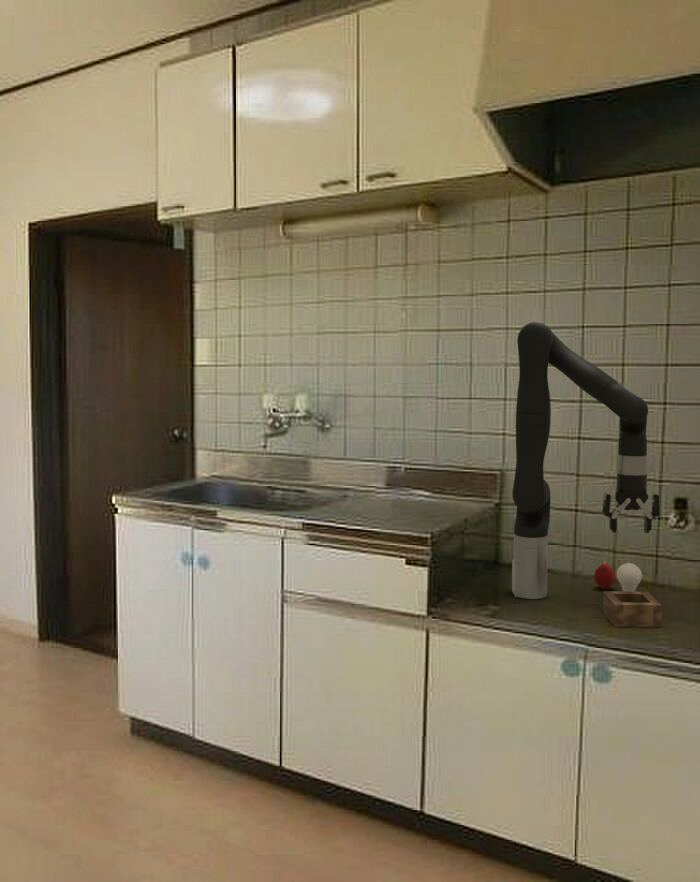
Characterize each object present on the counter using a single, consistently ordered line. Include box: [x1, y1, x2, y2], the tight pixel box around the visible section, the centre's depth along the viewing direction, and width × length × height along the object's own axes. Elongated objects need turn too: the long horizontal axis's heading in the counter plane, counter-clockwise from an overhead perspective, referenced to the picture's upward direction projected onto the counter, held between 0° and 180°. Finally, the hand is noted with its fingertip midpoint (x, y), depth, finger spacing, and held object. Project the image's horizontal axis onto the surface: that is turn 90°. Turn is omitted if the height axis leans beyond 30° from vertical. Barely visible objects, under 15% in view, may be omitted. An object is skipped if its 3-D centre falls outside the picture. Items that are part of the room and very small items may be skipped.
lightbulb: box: [616, 562, 643, 592], centre depth 211 cm, size 6×6×11 cm
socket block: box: [602, 590, 663, 628], centre depth 198 cm, size 11×11×6 cm
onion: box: [593, 561, 617, 590], centre depth 224 cm, size 6×6×8 cm
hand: (630, 532), depth 209 cm, fingers open, 8 cm apart
